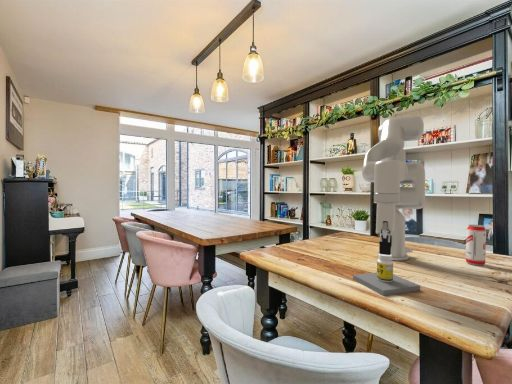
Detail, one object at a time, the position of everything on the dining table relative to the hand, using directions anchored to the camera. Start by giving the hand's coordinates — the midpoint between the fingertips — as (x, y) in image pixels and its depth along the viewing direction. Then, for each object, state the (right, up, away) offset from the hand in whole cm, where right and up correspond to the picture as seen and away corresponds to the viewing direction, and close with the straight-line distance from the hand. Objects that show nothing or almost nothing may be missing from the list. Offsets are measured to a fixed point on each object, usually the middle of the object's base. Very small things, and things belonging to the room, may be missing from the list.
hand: (385, 250), depth 88 cm
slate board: (-1, -11, 0) cm, 11 cm away
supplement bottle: (-1, -10, -1) cm, 10 cm away
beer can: (+48, -11, +22) cm, 54 cm away
